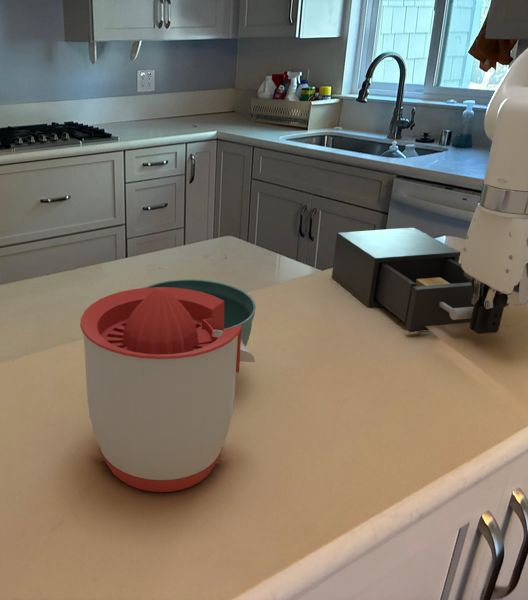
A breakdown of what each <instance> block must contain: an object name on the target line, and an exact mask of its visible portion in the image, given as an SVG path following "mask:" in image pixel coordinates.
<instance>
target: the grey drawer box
mask: <svg viewBox="0 0 528 600" xmlns="http://www.w3.org/2000/svg"><path fill="white" fill-rule="evenodd" d="M333 254H334V255H333V262H332V271H331V272H332V273H331V278H332V280H334V281H335V282H337V283H338V284H339V285H340V286H341V287H342V288H344V289H345V290H346V291H347V292H348V293H350V294H351V295H352V296H353V297H354V298H356V299H357V300H358V301H360V303H361V304H363V305H364V306H365V307H367V308H369V309H370V308H377V307H378V308H379V306H381V307H384V306H383V305H382V304H381V303H379V302H378V301H377V300H376V299H374V293H375V287H376V280H377V273H378V267H379V263H380V262H393V261H407V260H420V259H434V258H448V257H449V258H451V259H452V260H454V261H456V262H458V263H460V259H461V257H460V256H461V254H462V252H461V251H459V250H457V249H456V248H453V247H452V246H450V245H448V244H446V243H444V242H442V241H440V240H438V239H436V238H435V237H432V236H431V235H428V234H427V233H425V232H423V231H421V230H419V229H417V228H415V227H403V228H402V227H401V228H388V229H375V230H374V229H373V230H371V229H370V230H357V231H342V232H336V237H335V247H334V253H333Z"/></svg>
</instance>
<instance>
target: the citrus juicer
mask: <svg viewBox="0 0 528 600" xmlns="http://www.w3.org/2000/svg"><path fill="white" fill-rule="evenodd" d="M79 326H80V329H81V332H82V334H83V344H84V346H83V347H84V363H85V377H86V378H85V380H86V398H87V405H88V406H87V407H88V415H89V418H90V423H91V425H92V429H93V434H94V436H95V439H96V442H97V444H98V448H99V451H100V454H101V456H102V458H103V460H104V461H105V463H106V464H107V467H108V468H109V469H110V471H111V472H112V474H113V475H114V476H115V477H116V478H117V479H118V480H119V481H121V482H123V483H125V484H126V485H128V486H131V487H133V488H135V489H138V490H142V491H146V492H155V493H168V492H169V493H171V492H177V491H181V490H182V491H183V490H185V489H188V488H191V487H193V486H196V485H197V484H199V483H200V482H202V481H203V480H204V479H205V478H206V477H207V476H209V474H210V473H211V472H212V470H213V468H214V467H215V465H216V463H217V462H218V460H219V458H220V457H221V454H222V451H223V448H224V444H225V443H226V440H227V436H228V434H229V430H230V425H231V423H232V419H233V413H234V407H235V406H234V405H235V396H236V395H235V393H236V377H237V376H236V375H237V374H239V373H240V364H241V363H243V362H244V363H256V360H255V357H254V355H253V354H252V352H250V351H249V349H248V348H247V346H246V347H245V345H244V343H243V341H242V339H241V328H242V327H241V325H238V326H235V327H231V328H227V329H225V330H224V301H223V300H221V299H219V298H217V297H215V296H213V295H210V294H207V293H203V292H200V291H195V290H190V289H183V288H173V287H148V288H144V287H141V288H132V289H127V290H122V291H118V292H115V293H111V294H108V295H106V296H104V297H102V298H99V299H98V300H96V301H95V302H93V303H91V304H90V305H89V306H88V307H87V308H86V309H85V310H84V311H83V313H82V315H81V317H80V323H79Z"/></svg>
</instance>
